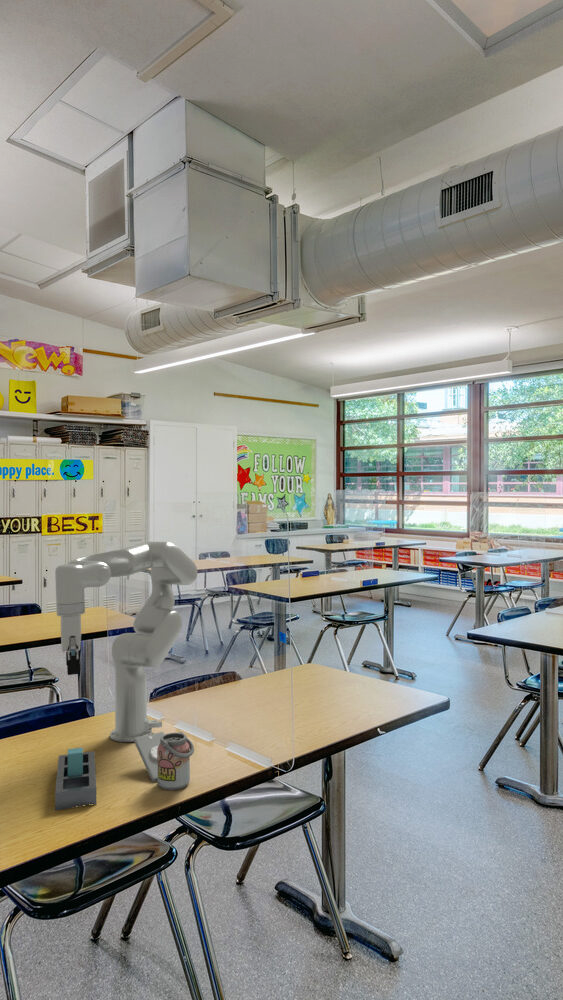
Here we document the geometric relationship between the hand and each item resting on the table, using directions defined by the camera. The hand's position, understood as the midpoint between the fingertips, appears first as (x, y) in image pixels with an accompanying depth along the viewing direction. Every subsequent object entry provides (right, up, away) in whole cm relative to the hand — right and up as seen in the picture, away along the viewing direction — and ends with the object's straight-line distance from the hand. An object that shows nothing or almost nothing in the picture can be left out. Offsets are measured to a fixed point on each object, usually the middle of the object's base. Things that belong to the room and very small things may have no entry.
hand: (73, 669), depth 175 cm
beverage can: (+31, -25, -16) cm, 43 cm away
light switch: (+25, -26, -7) cm, 36 cm away
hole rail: (+6, -25, -17) cm, 31 cm away
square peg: (+6, -25, -17) cm, 31 cm away
